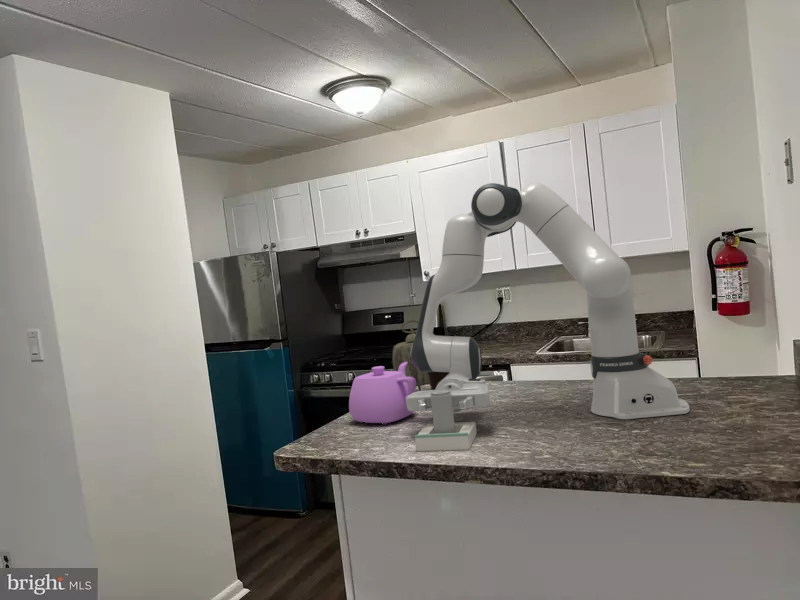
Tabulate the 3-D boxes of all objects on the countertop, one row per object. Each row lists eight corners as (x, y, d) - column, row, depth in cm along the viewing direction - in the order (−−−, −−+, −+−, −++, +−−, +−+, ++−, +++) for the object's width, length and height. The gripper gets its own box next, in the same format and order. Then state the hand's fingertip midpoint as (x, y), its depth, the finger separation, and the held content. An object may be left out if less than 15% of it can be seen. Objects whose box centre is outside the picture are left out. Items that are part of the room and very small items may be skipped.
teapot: (402, 429, 151) (395, 372, 150) (341, 425, 163) (335, 372, 163) (447, 408, 169) (441, 357, 169) (389, 405, 182) (384, 358, 181)
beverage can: (456, 445, 131) (450, 392, 131) (435, 446, 132) (429, 394, 132) (457, 439, 136) (451, 388, 136) (436, 440, 137) (430, 390, 137)
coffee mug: (427, 403, 179) (423, 371, 179) (436, 396, 187) (432, 366, 187) (463, 402, 175) (459, 369, 174) (471, 395, 182) (467, 364, 182)
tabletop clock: (438, 389, 199) (429, 317, 198) (443, 394, 190) (434, 318, 189) (396, 395, 197) (387, 322, 196) (399, 400, 188) (391, 323, 187)
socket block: (476, 434, 138) (475, 419, 138) (469, 449, 127) (467, 433, 127) (427, 436, 142) (426, 421, 142) (416, 451, 130) (414, 435, 130)
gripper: (411, 384, 149) (397, 396, 136) (491, 378, 144) (484, 390, 130) (414, 408, 149) (400, 422, 136) (494, 404, 144) (487, 418, 131)
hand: (442, 406), depth 133 cm, fingers open, 8 cm apart
